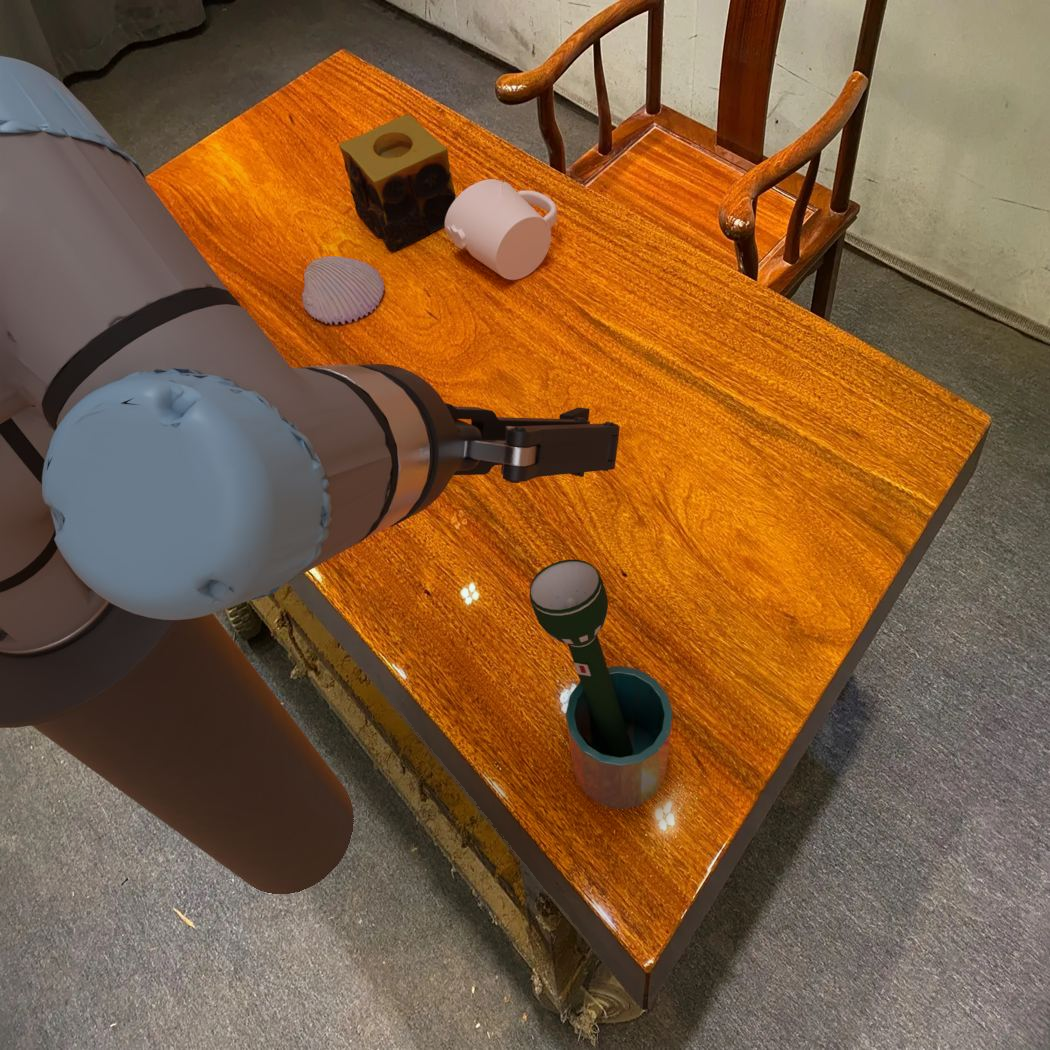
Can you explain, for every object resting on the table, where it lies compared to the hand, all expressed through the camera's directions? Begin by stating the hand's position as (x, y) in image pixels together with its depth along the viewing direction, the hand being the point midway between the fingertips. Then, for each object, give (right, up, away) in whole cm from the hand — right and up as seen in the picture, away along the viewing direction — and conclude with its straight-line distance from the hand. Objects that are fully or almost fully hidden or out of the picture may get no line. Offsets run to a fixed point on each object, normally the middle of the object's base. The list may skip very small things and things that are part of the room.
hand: (480, 416), depth 62 cm
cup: (+11, -27, +14) cm, 32 cm away
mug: (+1, +26, +51) cm, 57 cm away
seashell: (-19, +20, +49) cm, 56 cm away
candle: (-12, +32, +56) cm, 66 cm away
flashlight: (+11, -26, +13) cm, 31 cm away
